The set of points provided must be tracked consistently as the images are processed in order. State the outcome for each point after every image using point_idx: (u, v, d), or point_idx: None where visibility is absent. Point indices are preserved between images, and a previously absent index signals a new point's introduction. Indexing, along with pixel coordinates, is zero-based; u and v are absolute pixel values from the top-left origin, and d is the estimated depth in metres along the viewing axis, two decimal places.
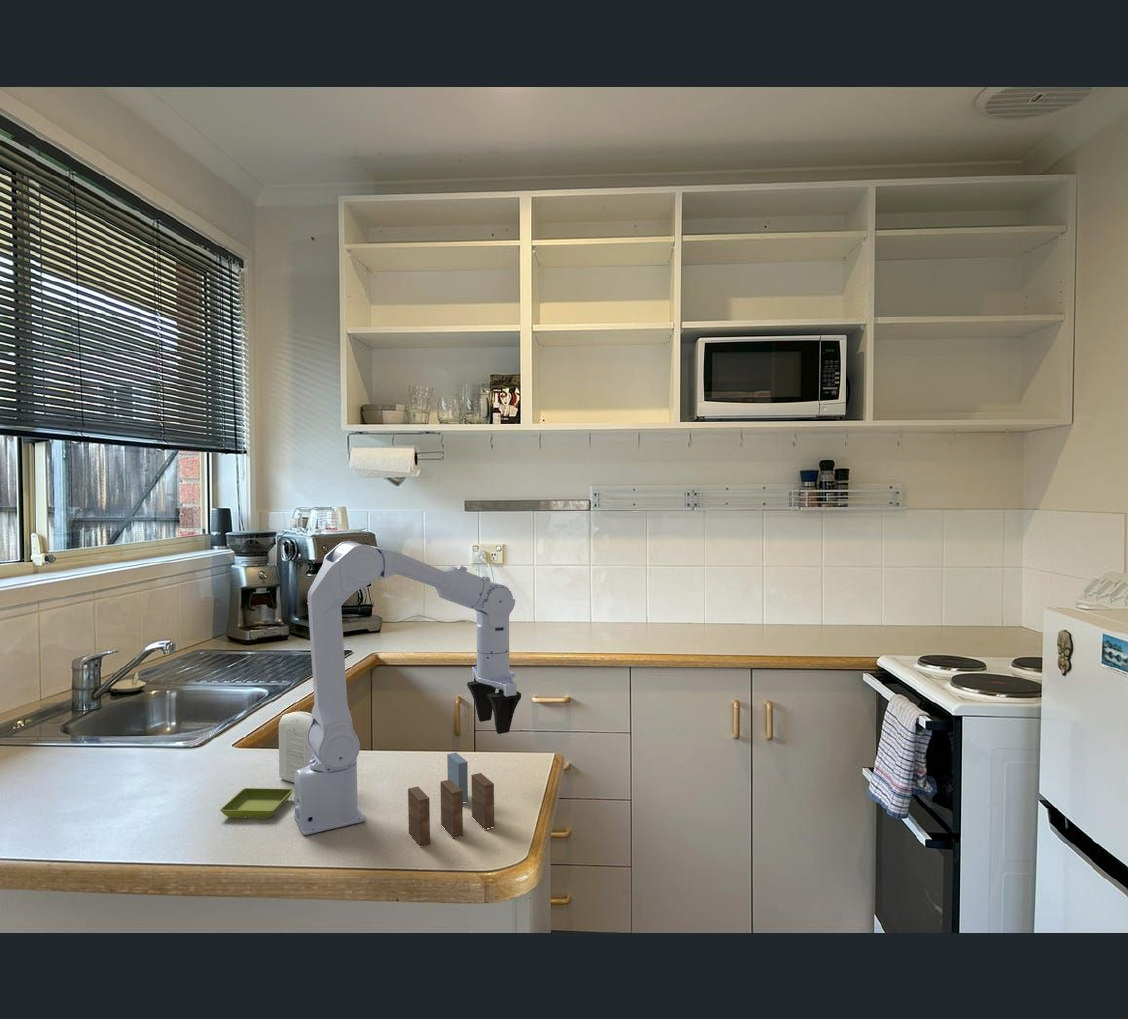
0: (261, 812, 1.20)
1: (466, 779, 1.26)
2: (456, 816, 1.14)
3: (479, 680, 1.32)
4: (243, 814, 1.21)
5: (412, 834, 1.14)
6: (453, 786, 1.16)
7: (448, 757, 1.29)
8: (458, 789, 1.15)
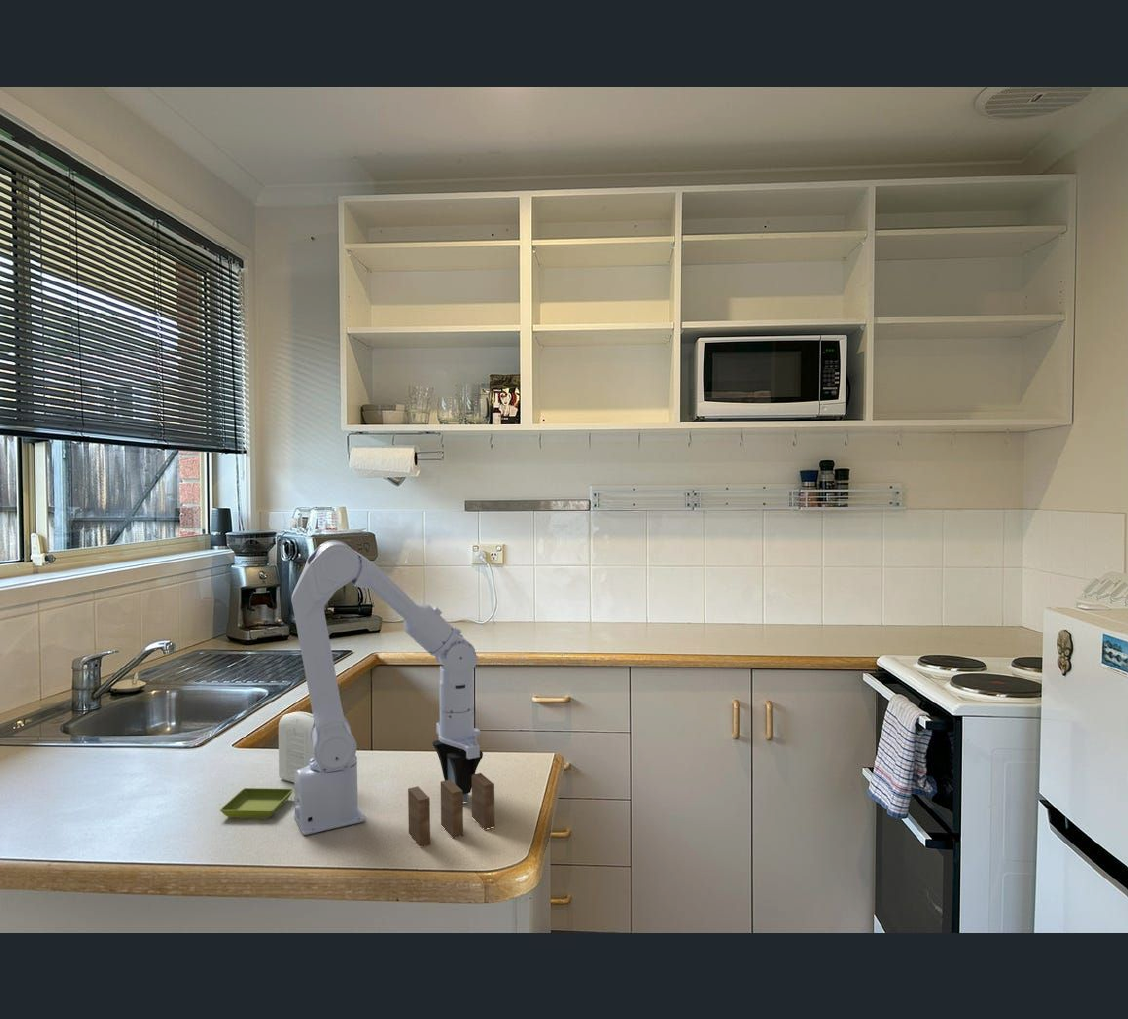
0: (261, 812, 1.20)
1: None
2: (456, 816, 1.14)
3: (441, 740, 1.26)
4: (243, 814, 1.21)
5: (412, 834, 1.14)
6: (453, 786, 1.16)
7: None
8: (458, 789, 1.15)
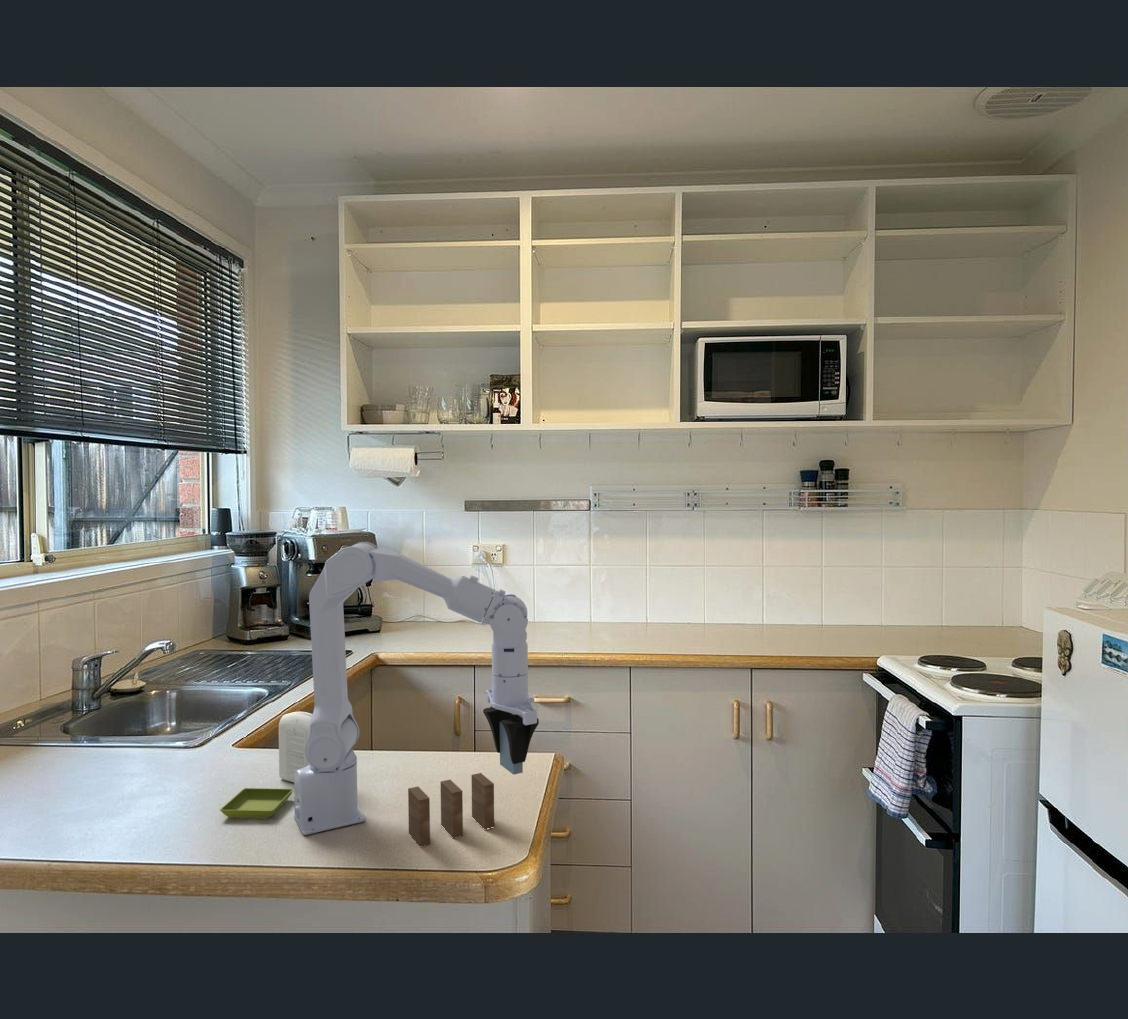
0: (261, 812, 1.20)
1: None
2: (456, 816, 1.14)
3: (495, 706, 1.19)
4: (243, 814, 1.21)
5: (412, 834, 1.14)
6: (453, 786, 1.16)
7: (500, 725, 1.23)
8: (458, 789, 1.15)
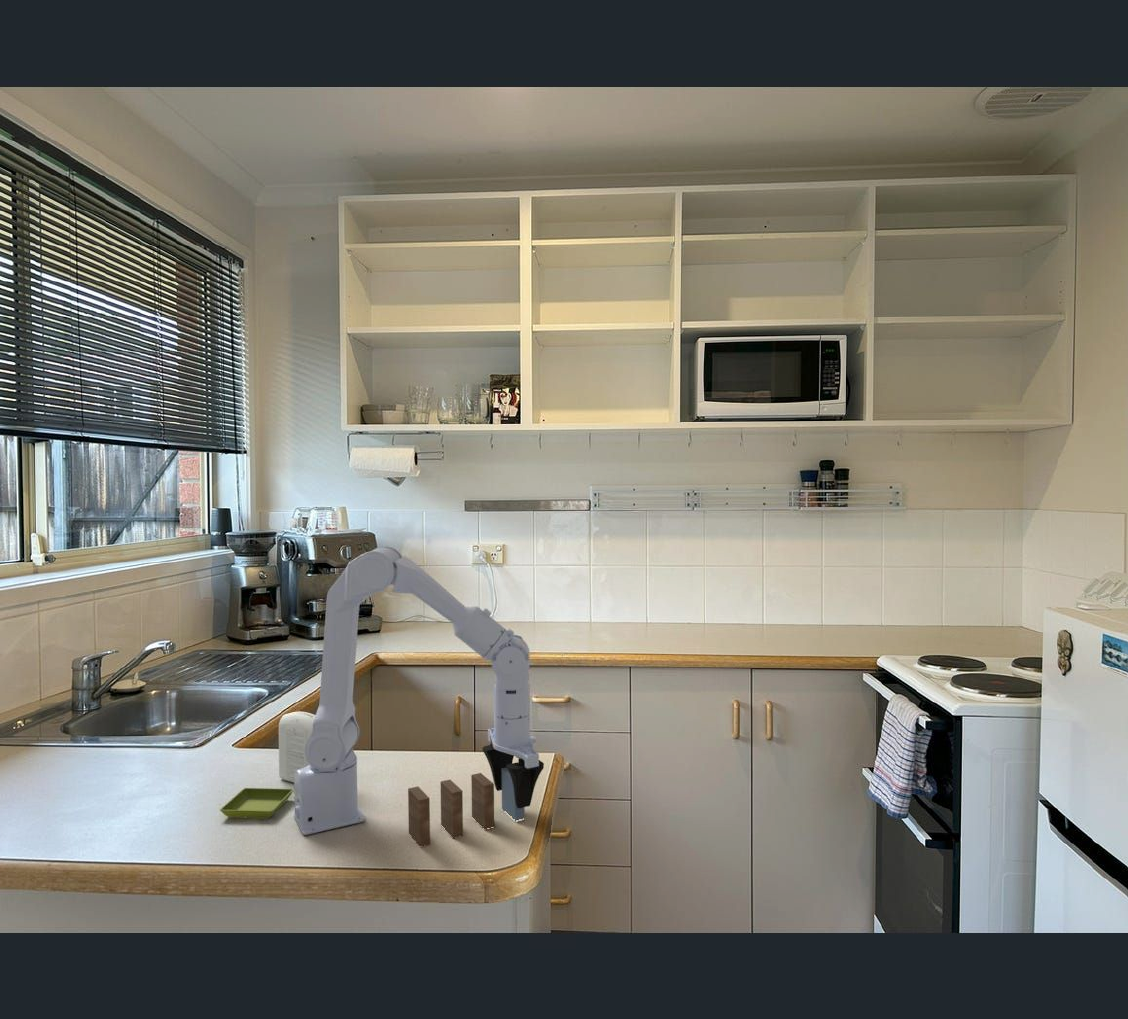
0: (261, 812, 1.20)
1: None
2: (456, 816, 1.14)
3: (497, 748, 1.19)
4: (243, 814, 1.21)
5: (412, 834, 1.14)
6: (453, 786, 1.16)
7: (502, 771, 1.23)
8: (458, 789, 1.15)
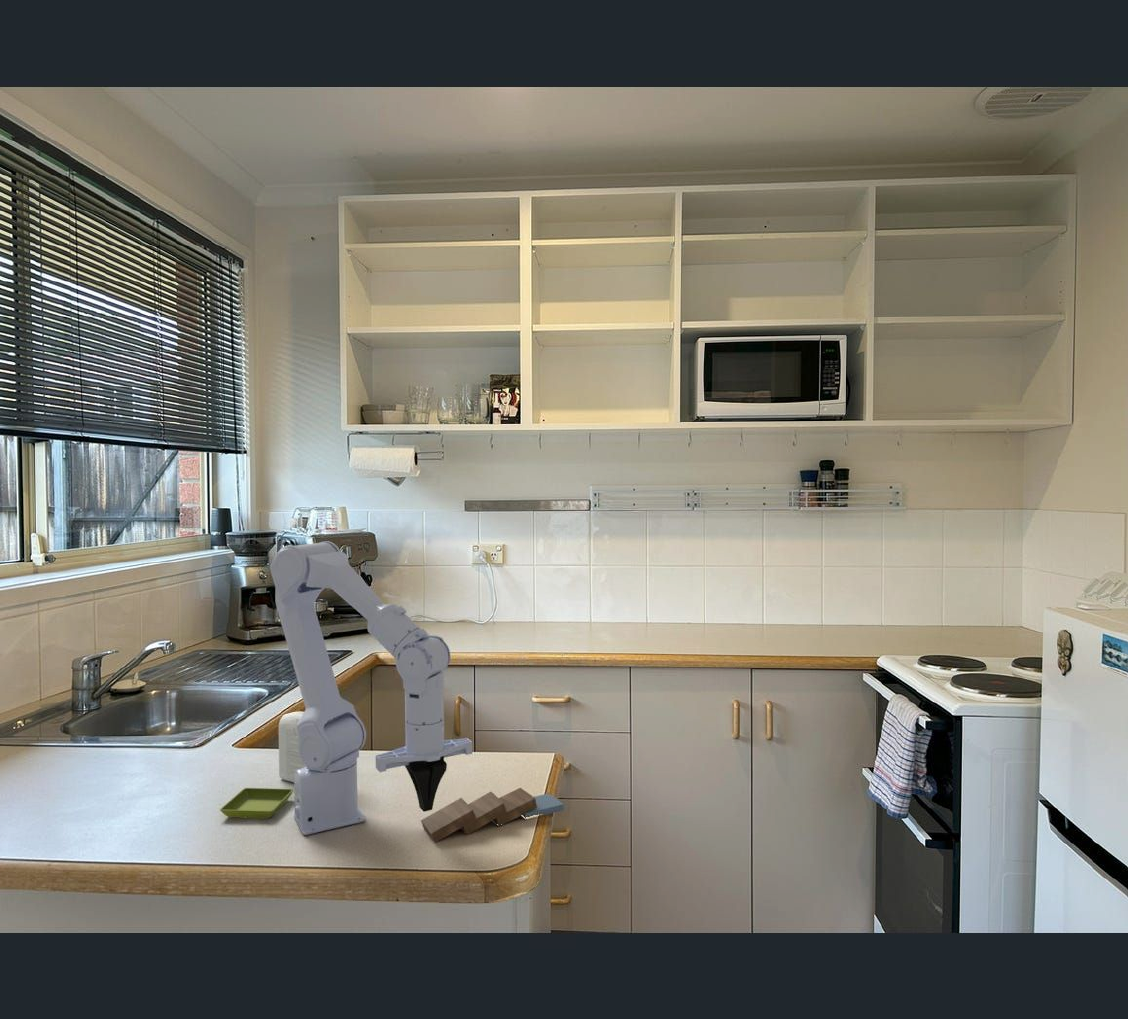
0: (260, 812, 1.20)
1: None
2: (483, 818, 1.16)
3: None
4: (243, 814, 1.21)
5: (427, 823, 1.15)
6: None
7: (547, 794, 1.27)
8: None
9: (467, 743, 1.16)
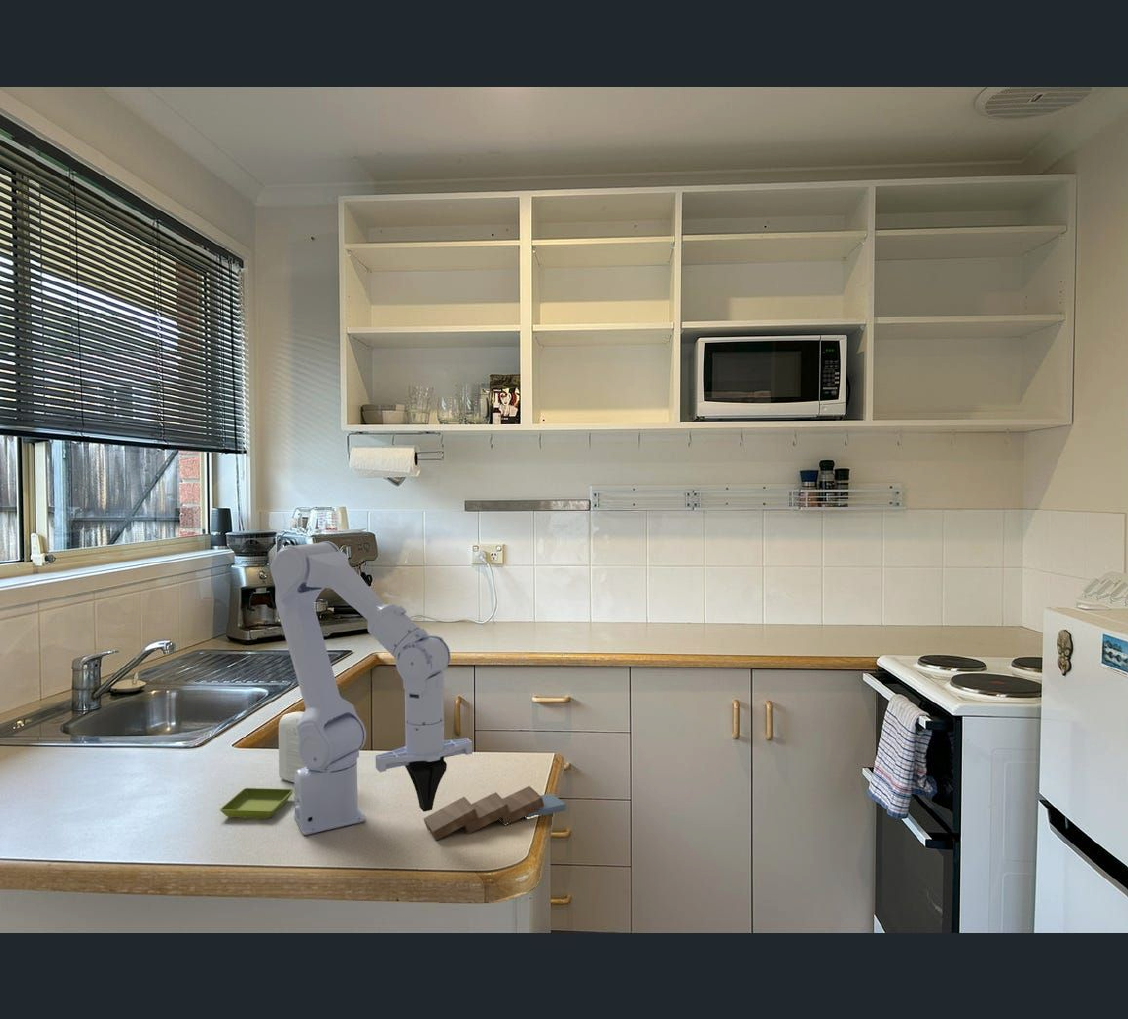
0: (260, 812, 1.20)
1: None
2: (486, 818, 1.17)
3: None
4: (243, 814, 1.21)
5: (430, 821, 1.16)
6: None
7: (550, 794, 1.27)
8: None
9: (467, 743, 1.16)
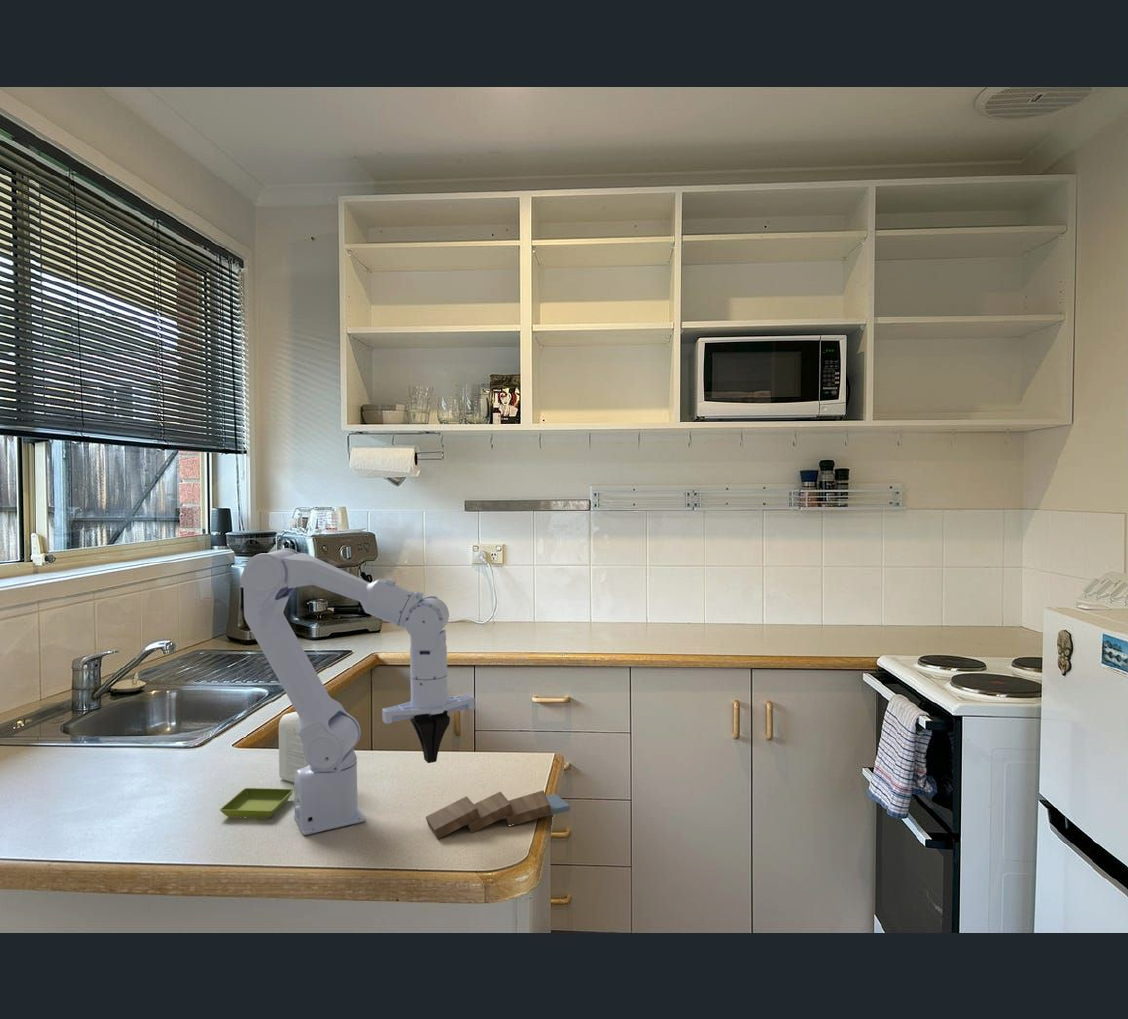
0: (260, 812, 1.20)
1: None
2: (489, 817, 1.17)
3: None
4: (243, 814, 1.21)
5: (432, 819, 1.17)
6: None
7: (554, 795, 1.27)
8: None
9: (469, 699, 1.22)
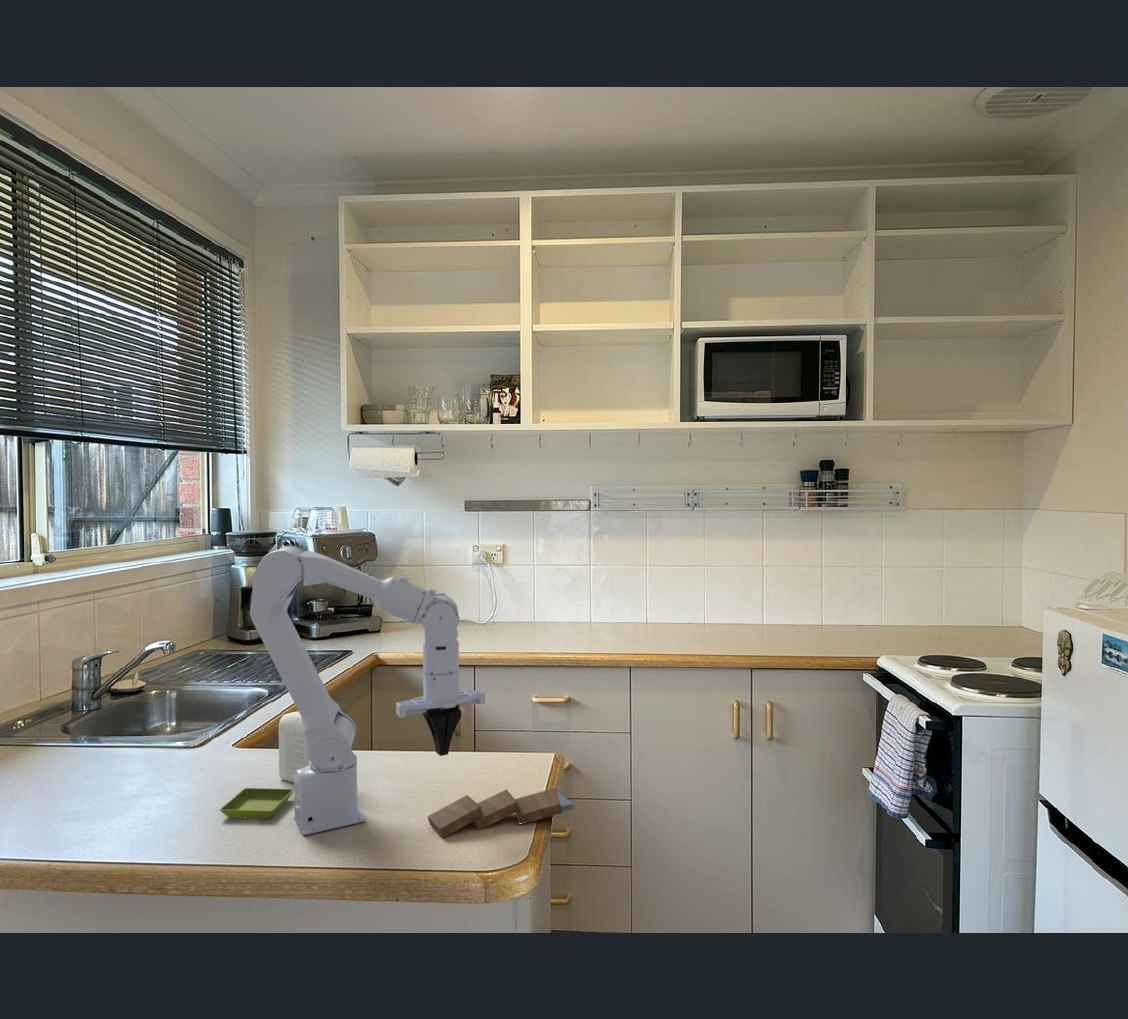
0: (260, 812, 1.20)
1: None
2: (496, 815, 1.18)
3: None
4: (243, 814, 1.21)
5: (435, 818, 1.17)
6: None
7: None
8: None
9: (480, 694, 1.25)
